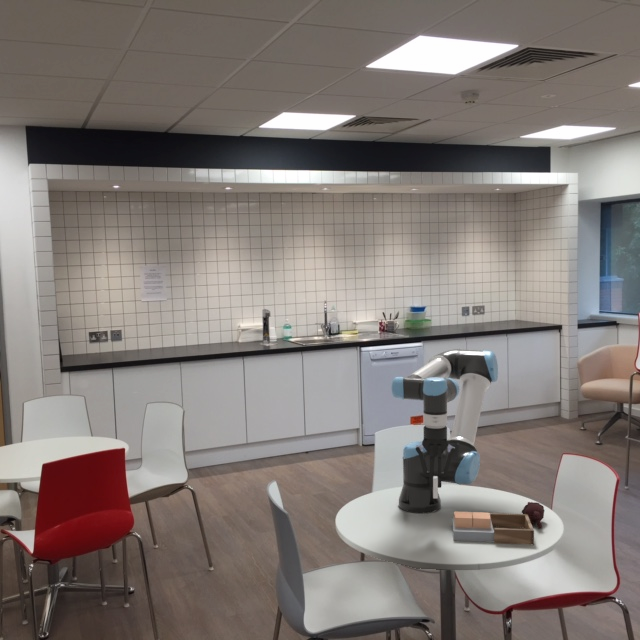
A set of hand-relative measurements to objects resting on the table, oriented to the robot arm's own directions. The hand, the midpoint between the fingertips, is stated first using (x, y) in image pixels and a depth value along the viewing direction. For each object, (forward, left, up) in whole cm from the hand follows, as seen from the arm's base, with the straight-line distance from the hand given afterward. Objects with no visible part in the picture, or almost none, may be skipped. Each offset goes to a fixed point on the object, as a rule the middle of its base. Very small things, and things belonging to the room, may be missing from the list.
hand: (435, 496), depth 229 cm
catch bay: (0, +24, -12) cm, 27 cm away
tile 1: (0, +9, -9) cm, 13 cm away
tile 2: (0, +15, -9) cm, 17 cm away
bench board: (0, +12, -12) cm, 17 cm away
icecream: (-13, +33, -12) cm, 37 cm away
